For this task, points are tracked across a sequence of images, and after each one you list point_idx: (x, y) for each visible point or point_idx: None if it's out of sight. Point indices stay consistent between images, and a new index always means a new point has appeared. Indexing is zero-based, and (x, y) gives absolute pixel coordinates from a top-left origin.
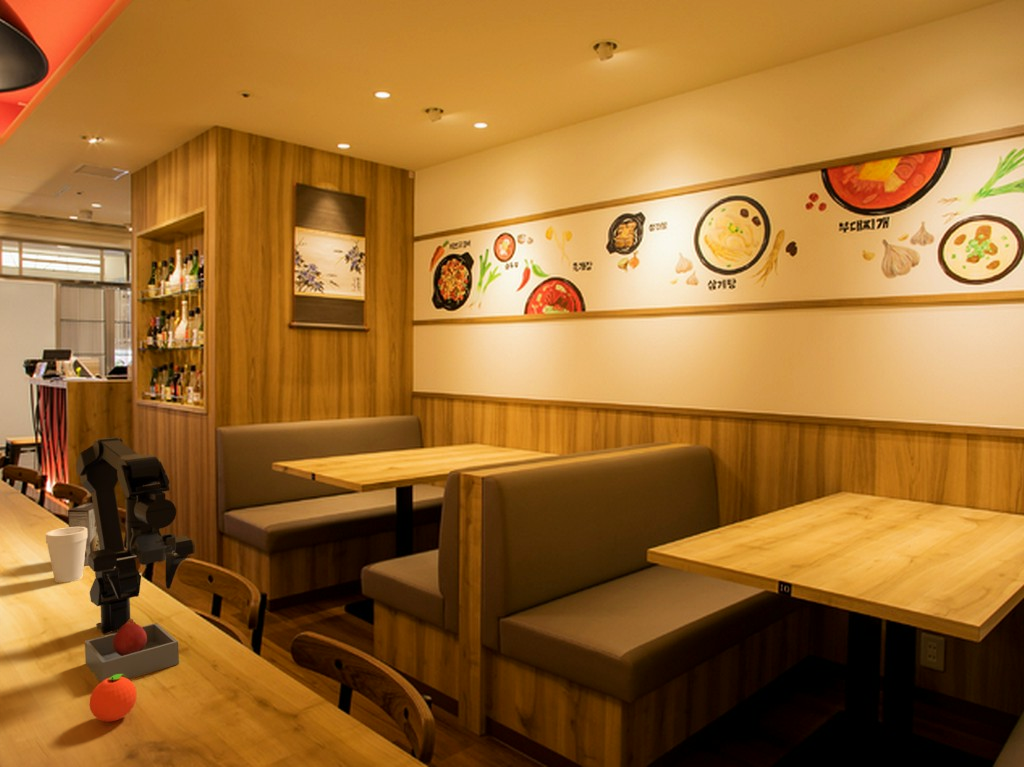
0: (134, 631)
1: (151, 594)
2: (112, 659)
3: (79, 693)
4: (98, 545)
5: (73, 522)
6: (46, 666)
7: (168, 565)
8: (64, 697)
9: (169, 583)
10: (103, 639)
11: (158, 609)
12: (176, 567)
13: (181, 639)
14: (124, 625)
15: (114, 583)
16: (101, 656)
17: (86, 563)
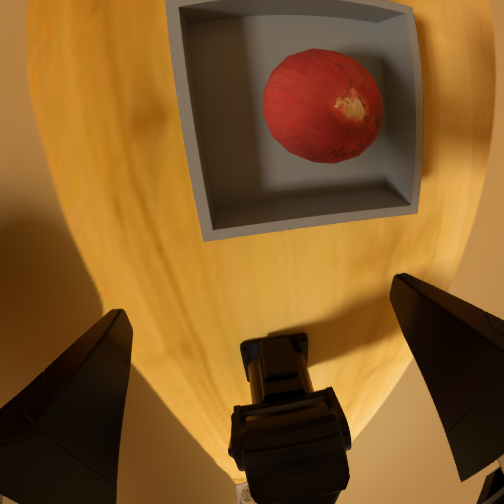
0: (330, 62)
1: (199, 429)
2: (389, 5)
3: (418, 33)
4: (249, 495)
5: None
6: (432, 229)
7: (80, 451)
8: (439, 42)
9: (102, 328)
10: (374, 206)
11: (189, 388)
12: (14, 401)
13: (142, 205)
14: (371, 108)
15: (494, 320)
16: (412, 52)
17: None
